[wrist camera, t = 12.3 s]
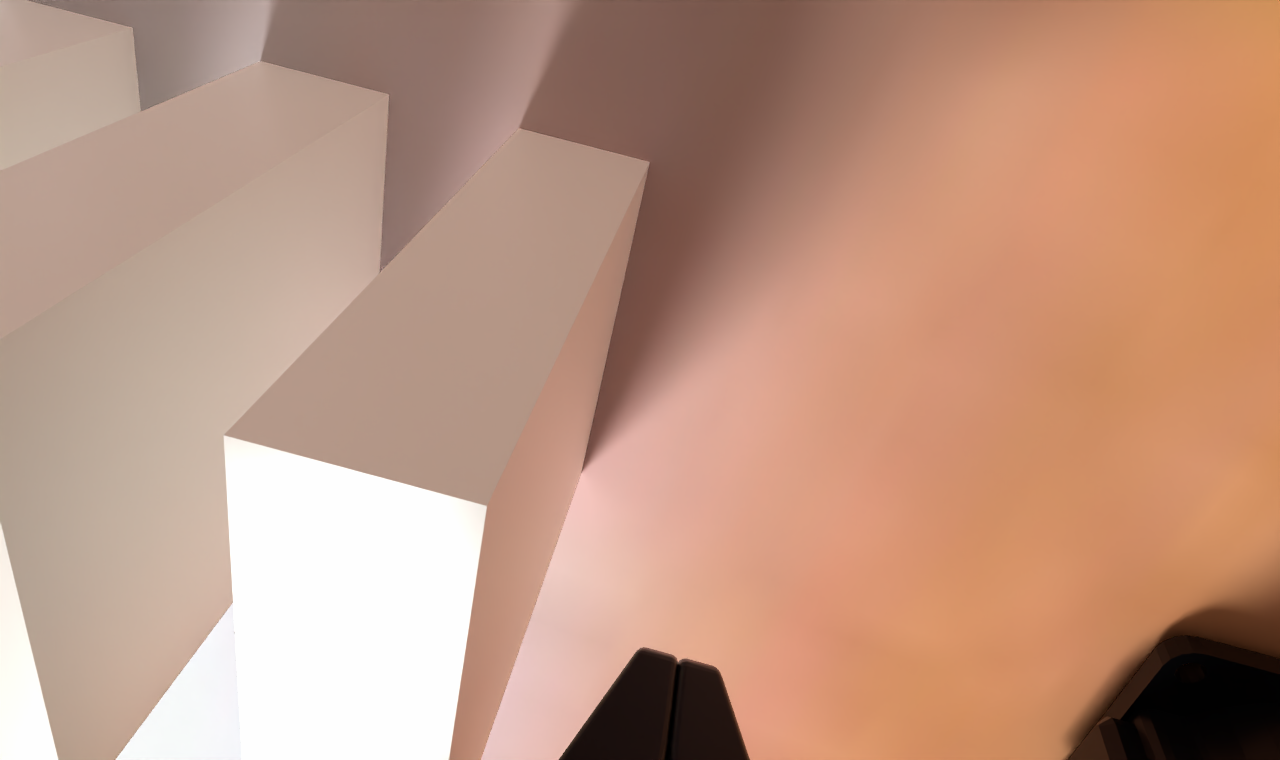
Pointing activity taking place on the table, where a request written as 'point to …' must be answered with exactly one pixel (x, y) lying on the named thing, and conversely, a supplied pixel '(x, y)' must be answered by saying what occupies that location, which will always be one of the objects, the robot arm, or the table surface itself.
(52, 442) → the tile
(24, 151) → the tile
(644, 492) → the table surface
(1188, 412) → the table surface
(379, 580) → the tile
